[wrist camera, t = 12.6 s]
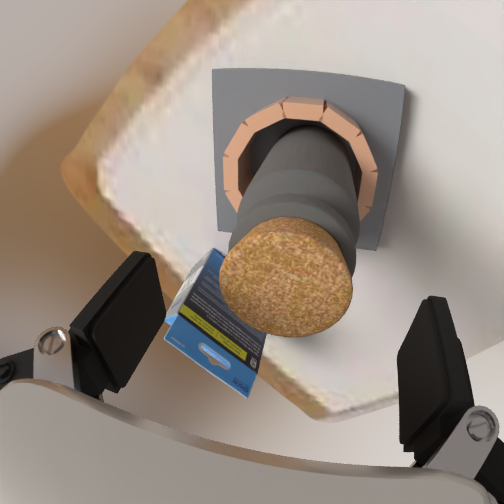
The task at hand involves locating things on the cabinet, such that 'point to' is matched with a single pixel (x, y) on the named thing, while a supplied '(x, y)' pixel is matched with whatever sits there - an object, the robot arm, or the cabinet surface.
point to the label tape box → (214, 328)
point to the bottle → (295, 238)
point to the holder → (305, 113)
